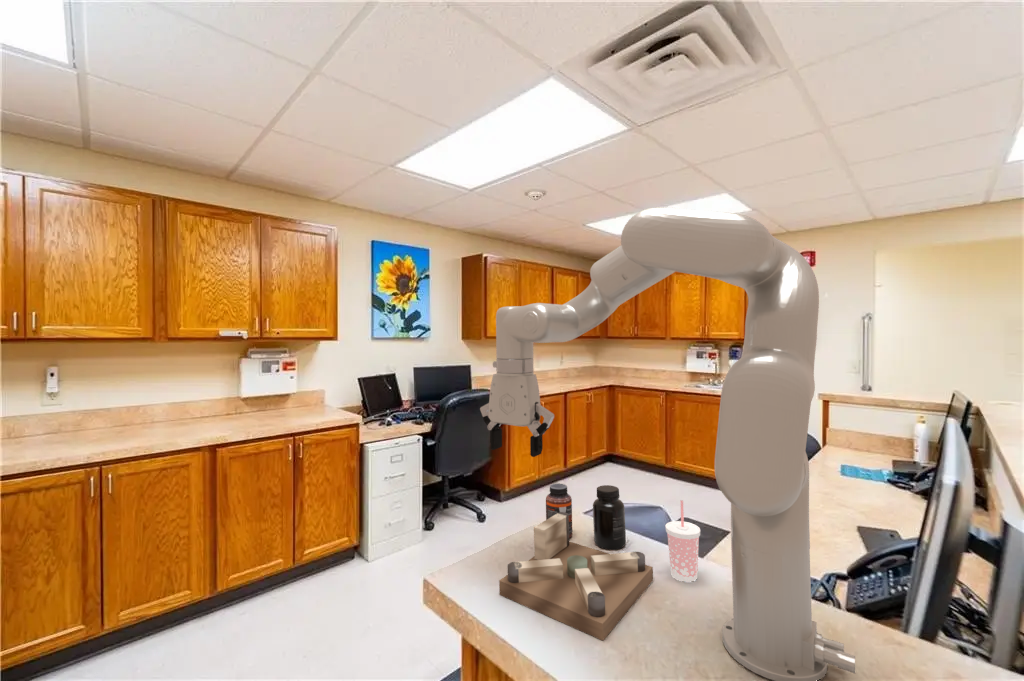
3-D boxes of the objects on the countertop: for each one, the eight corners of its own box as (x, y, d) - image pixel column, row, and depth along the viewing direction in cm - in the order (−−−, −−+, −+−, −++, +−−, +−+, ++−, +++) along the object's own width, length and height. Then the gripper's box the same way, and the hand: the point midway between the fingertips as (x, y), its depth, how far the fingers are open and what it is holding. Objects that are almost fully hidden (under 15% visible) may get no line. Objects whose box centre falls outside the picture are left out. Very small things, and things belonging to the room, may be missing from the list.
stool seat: (653, 580, 80) (652, 553, 80) (603, 640, 64) (602, 607, 64) (560, 550, 92) (559, 527, 92) (499, 594, 77) (498, 566, 77)
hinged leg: (561, 539, 91) (560, 511, 91) (571, 543, 90) (571, 513, 90) (534, 558, 84) (533, 527, 84) (545, 562, 82) (544, 530, 82)
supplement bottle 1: (571, 542, 96) (569, 491, 96) (544, 540, 97) (543, 489, 97) (573, 530, 102) (572, 482, 102) (548, 529, 103) (547, 481, 103)
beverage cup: (692, 588, 77) (689, 509, 77) (660, 575, 81) (658, 500, 81) (707, 575, 81) (705, 500, 81) (676, 563, 85) (674, 492, 86)
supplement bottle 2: (623, 536, 98) (621, 483, 98) (628, 551, 91) (626, 493, 91) (592, 536, 99) (591, 483, 99) (595, 550, 92) (593, 493, 92)
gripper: (470, 367, 90) (470, 449, 90) (542, 370, 80) (543, 462, 80) (491, 365, 96) (492, 442, 96) (561, 367, 86) (562, 453, 86)
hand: (515, 451), depth 88 cm, fingers open, 9 cm apart
